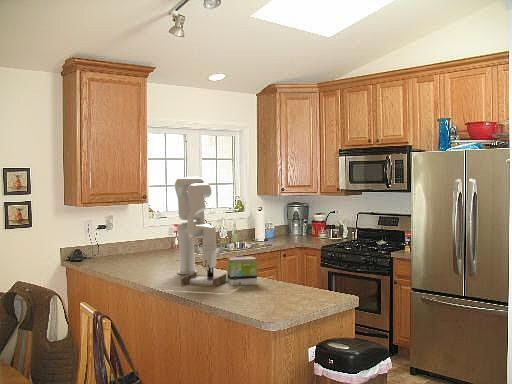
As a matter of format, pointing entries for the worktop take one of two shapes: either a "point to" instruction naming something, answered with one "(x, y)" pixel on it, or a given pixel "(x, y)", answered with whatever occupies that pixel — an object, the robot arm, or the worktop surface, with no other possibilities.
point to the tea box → (242, 270)
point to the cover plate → (202, 280)
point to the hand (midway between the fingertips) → (210, 279)
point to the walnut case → (216, 281)
